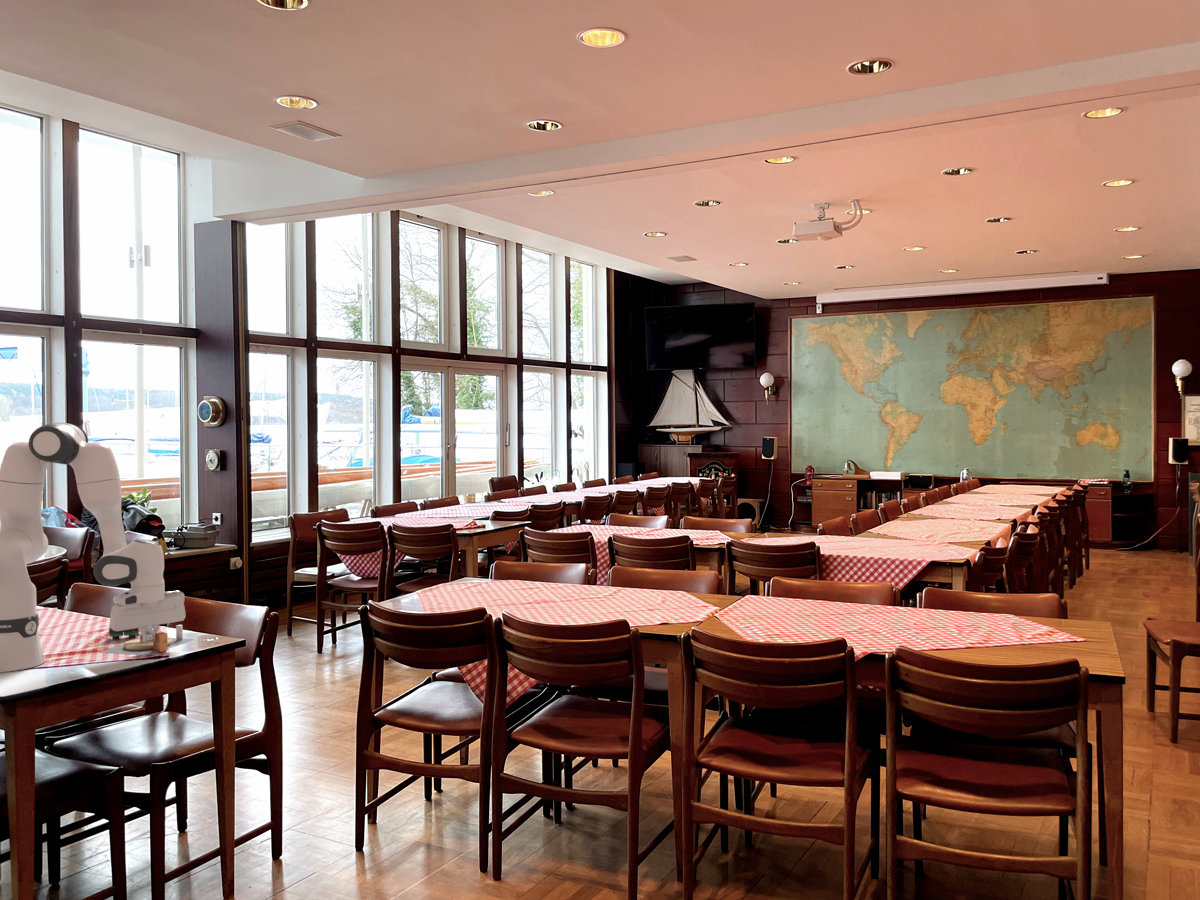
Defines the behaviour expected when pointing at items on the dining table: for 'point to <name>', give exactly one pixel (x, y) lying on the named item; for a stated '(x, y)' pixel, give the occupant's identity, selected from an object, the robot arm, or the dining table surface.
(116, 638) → the binoculars
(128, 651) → the base plate
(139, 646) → the maple flange
